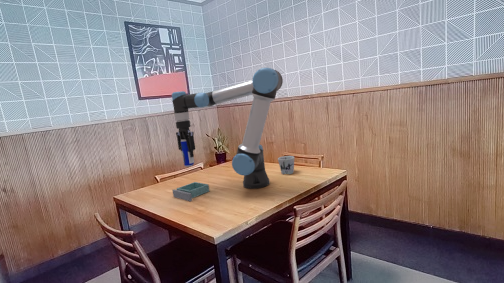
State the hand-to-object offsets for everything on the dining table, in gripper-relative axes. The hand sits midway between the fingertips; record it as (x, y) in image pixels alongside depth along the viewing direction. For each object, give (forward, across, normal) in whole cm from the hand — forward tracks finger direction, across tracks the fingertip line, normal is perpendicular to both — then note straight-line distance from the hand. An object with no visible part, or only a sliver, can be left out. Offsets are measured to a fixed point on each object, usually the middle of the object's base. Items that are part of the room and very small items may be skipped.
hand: (188, 162), depth 153 cm
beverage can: (+2, 0, 0) cm, 2 cm away
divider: (+18, -2, +8) cm, 20 cm away
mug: (+18, -26, -54) cm, 63 cm away
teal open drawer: (+18, 0, 0) cm, 18 cm away
